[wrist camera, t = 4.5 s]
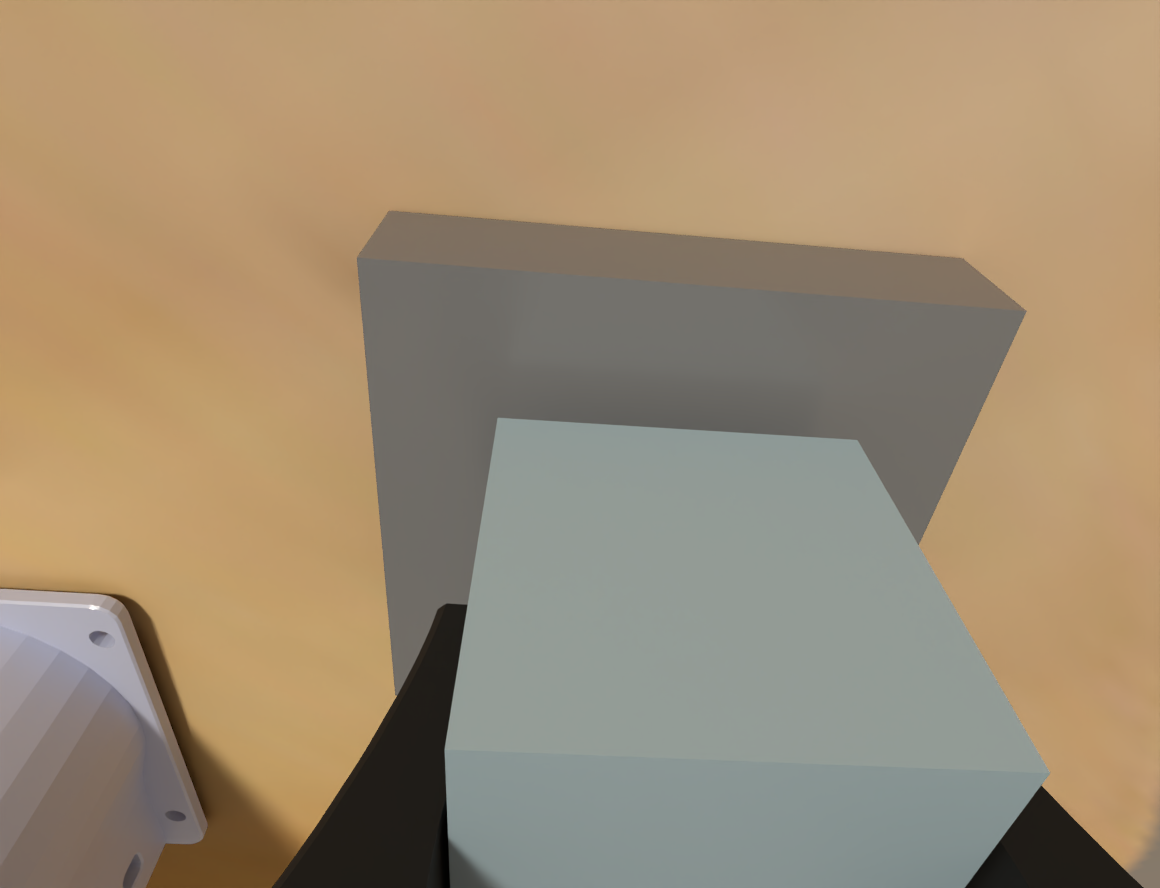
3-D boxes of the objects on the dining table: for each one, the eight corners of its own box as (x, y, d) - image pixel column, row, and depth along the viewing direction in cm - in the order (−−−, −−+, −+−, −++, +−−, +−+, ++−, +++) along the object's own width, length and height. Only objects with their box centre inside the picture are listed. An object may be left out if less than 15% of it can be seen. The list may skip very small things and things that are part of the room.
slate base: (813, 640, 17) (839, 717, 15) (414, 618, 16) (395, 695, 15) (963, 258, 12) (1026, 310, 10) (389, 210, 11) (356, 257, 10)
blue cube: (775, 674, 13) (871, 1012, 9) (492, 661, 13) (454, 1003, 9) (857, 439, 10) (1049, 774, 6) (497, 417, 10) (445, 750, 6)
